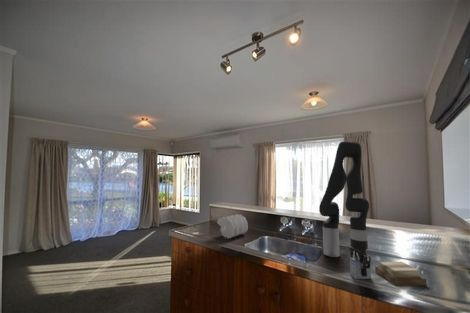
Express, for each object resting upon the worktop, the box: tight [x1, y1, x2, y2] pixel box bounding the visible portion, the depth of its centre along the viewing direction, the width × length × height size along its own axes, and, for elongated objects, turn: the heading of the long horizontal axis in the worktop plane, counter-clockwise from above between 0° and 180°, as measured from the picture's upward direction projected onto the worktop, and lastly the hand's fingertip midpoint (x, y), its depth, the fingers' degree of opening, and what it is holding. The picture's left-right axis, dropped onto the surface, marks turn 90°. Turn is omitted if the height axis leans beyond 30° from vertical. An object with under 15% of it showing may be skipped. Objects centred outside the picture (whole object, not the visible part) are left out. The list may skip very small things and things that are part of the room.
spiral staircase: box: [216, 213, 249, 239], centre depth 175 cm, size 18×18×25 cm
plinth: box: [374, 261, 428, 287], centre depth 103 cm, size 14×14×6 cm
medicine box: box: [349, 257, 372, 280], centre depth 104 cm, size 8×4×9 cm, turn 92°
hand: (360, 273), depth 104 cm, fingers open, 5 cm apart
